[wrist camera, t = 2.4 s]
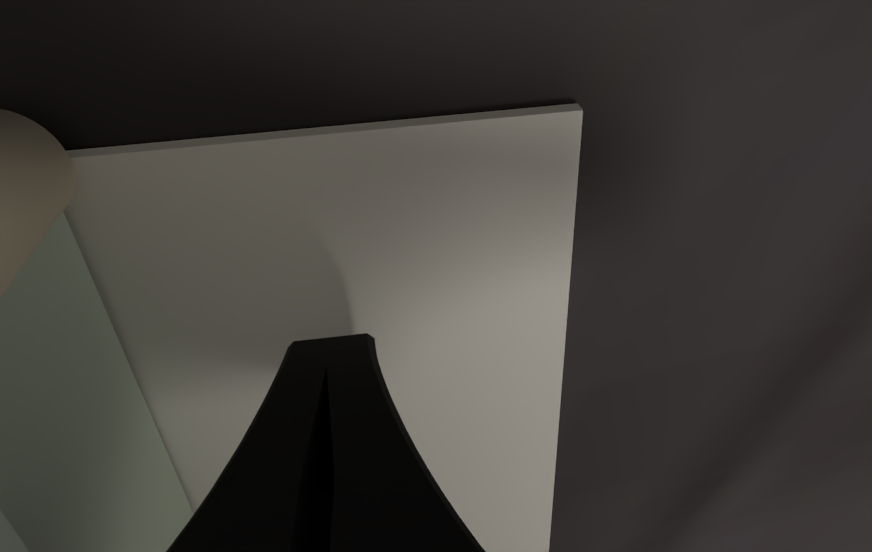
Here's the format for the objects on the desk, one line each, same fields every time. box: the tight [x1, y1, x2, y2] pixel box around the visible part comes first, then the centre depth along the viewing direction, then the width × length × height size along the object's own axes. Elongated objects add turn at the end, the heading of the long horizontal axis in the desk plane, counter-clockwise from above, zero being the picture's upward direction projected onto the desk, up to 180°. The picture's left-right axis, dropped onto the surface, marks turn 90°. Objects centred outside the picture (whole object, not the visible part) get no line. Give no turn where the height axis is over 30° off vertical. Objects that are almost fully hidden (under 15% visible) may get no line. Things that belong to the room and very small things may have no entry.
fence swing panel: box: [0, 109, 194, 552], centre depth 10 cm, size 10×2×4 cm, turn 3°
